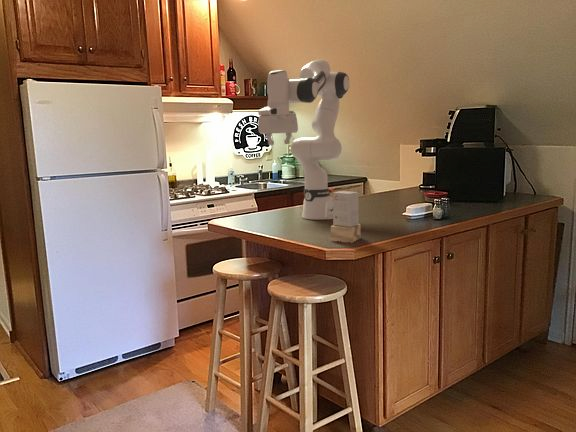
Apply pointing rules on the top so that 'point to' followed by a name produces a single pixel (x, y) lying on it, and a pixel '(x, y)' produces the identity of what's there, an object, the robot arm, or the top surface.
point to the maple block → (345, 233)
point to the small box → (346, 208)
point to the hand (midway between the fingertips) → (279, 144)
